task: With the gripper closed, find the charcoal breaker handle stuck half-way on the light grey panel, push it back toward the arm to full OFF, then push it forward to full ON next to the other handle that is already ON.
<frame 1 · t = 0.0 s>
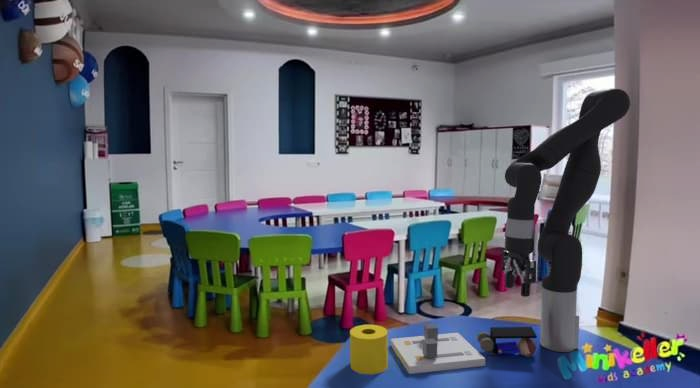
hand: (516, 291, 133), 17 cm above the table, tool pointing down, fingers open, 8 cm apart
black toy car: (506, 355, 133), on the table
tape roll: (369, 366, 128), on the table
tripped handle: (430, 332, 138), point 4 cm above the table, slide at 4.0 cm
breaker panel: (435, 355, 133), on the table
on handle: (429, 348, 127), point 4 cm above the table, slide at 8.0 cm
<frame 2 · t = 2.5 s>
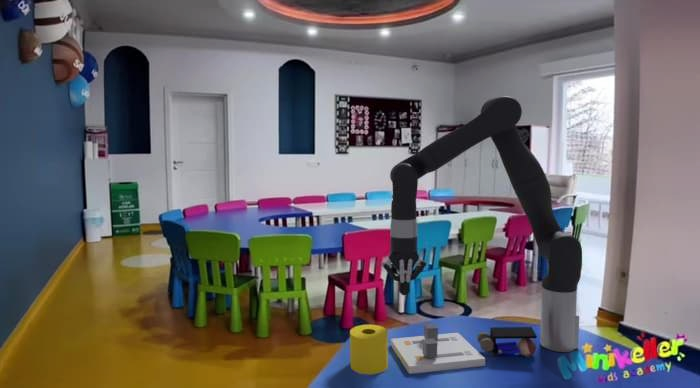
hand: (404, 294, 135), 16 cm above the table, tool pointing down, fingers closed
nothing on the table moved.
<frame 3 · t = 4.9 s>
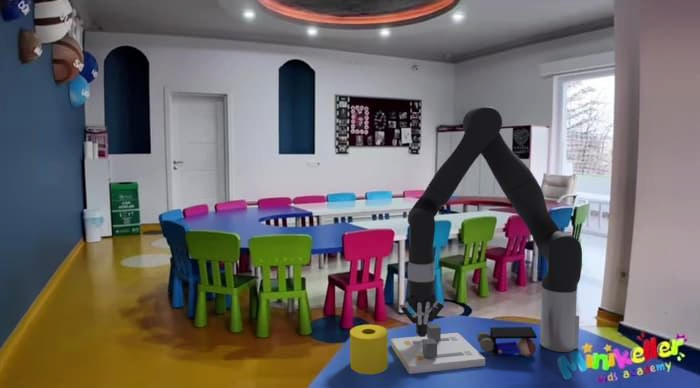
hand: (421, 335, 137), 4 cm above the table, tool pointing down, fingers closed
tripped handle: (433, 332, 138), point 4 cm above the table, slide at 3.1 cm, touching gripper
everything else where it was.
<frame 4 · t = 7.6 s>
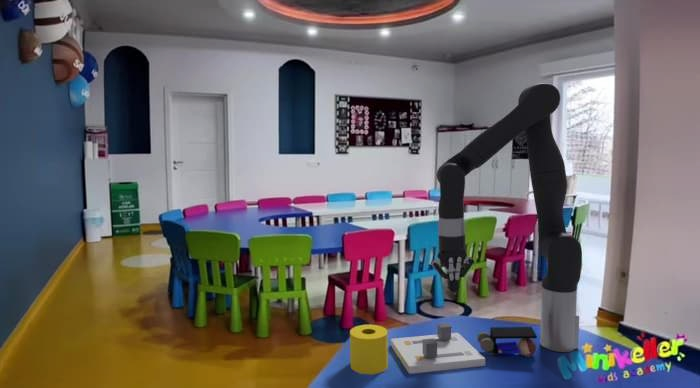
hand: (453, 291, 137), 16 cm above the table, tool pointing down, fingers closed
tripped handle: (444, 331, 138), point 4 cm above the table, slide at -0.1 cm
everything else where it was.
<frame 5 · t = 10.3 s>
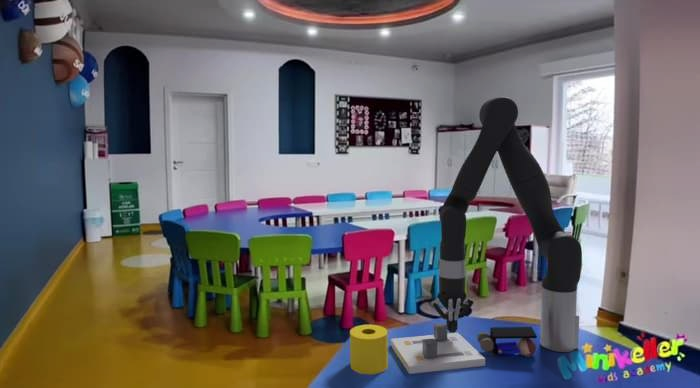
hand: (451, 331, 139), 4 cm above the table, tool pointing down, fingers closed
tripped handle: (440, 331, 138), point 4 cm above the table, slide at 1.1 cm, touching gripper
everything else where it was.
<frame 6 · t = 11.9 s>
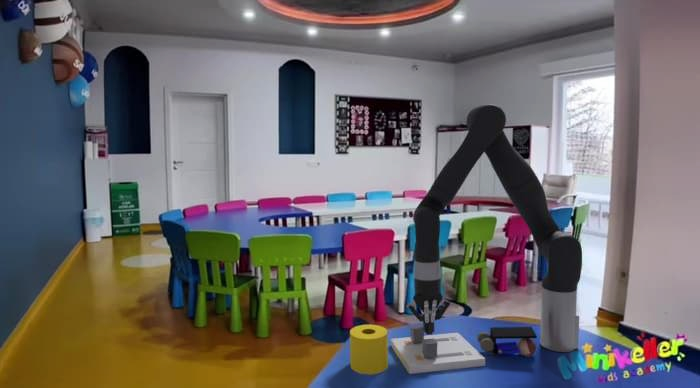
hand: (428, 333, 138), 4 cm above the table, tool pointing down, fingers closed
tripped handle: (417, 334, 137), point 4 cm above the table, slide at 8.2 cm, touching gripper
everything else where it was.
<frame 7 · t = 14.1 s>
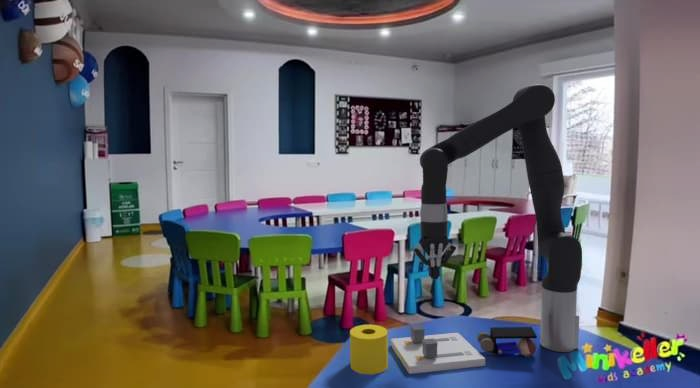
hand: (434, 278, 136), 20 cm above the table, tool pointing down, fingers closed
tripped handle: (417, 334, 137), point 4 cm above the table, slide at 8.1 cm
everything else where it was.
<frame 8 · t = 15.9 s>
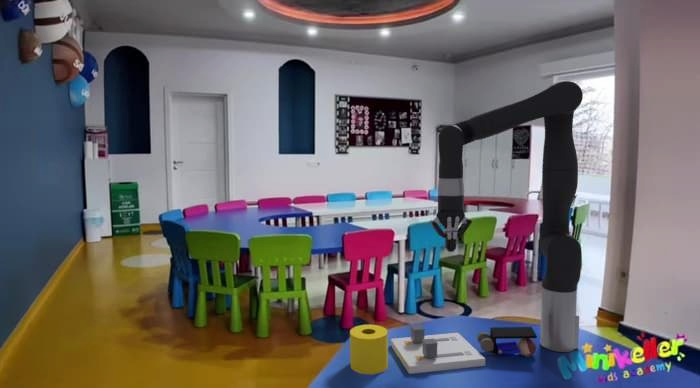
hand: (450, 251, 142), 27 cm above the table, tool pointing down, fingers closed
nothing on the table moved.
at the end: tripped handle slide at 8.1 cm; on handle slide at 8.0 cm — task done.
